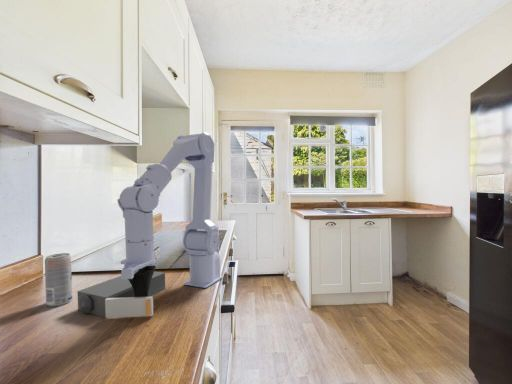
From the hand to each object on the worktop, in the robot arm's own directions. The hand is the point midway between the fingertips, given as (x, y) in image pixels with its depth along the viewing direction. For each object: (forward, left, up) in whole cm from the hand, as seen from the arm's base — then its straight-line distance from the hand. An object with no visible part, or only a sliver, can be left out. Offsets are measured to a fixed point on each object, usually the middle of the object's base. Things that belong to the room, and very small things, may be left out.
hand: (141, 300), depth 59 cm
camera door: (+2, -2, -3) cm, 4 cm away
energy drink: (+3, -26, -4) cm, 26 cm away
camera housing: (-5, -12, -3) cm, 13 cm away
